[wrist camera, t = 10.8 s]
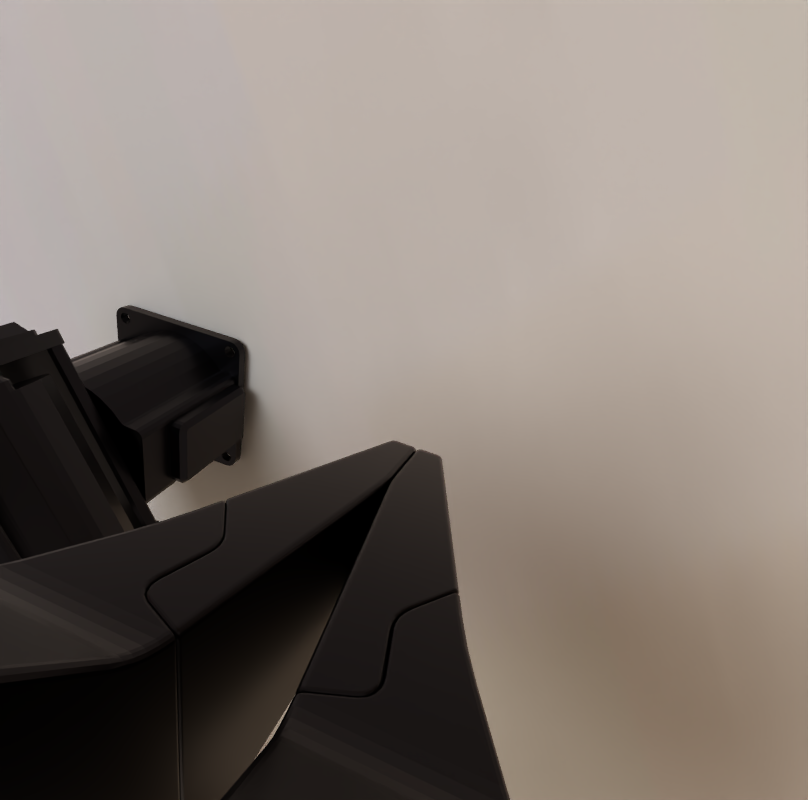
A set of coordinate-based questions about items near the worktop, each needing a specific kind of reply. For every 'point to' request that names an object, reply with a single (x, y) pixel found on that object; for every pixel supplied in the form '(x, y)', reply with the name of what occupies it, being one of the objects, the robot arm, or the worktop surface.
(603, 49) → the worktop surface
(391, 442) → the robot arm
